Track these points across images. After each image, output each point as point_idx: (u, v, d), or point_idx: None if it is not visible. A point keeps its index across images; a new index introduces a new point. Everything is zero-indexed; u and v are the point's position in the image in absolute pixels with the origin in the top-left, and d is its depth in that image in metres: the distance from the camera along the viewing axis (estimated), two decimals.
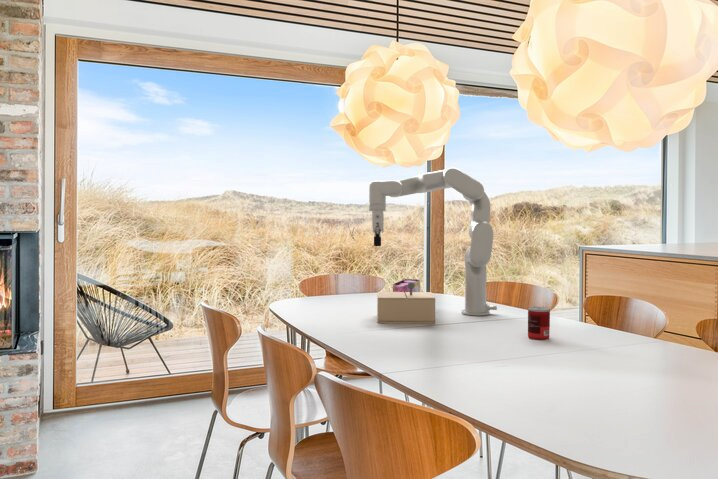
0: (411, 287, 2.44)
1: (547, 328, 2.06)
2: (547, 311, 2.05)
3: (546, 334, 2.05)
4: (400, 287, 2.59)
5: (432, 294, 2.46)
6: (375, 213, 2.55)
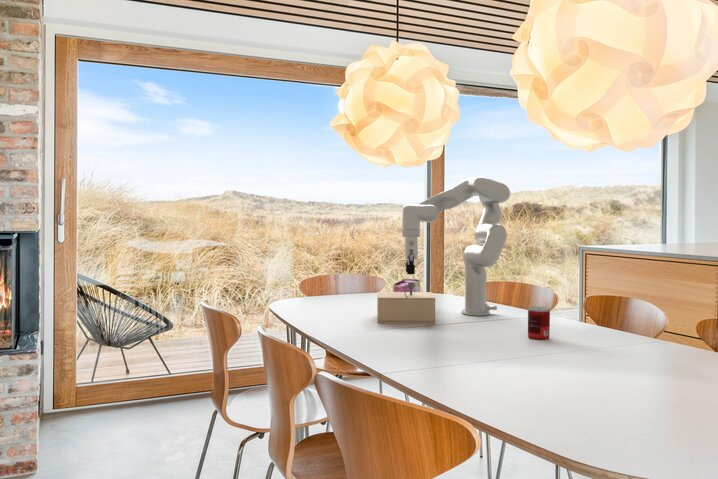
0: (411, 287, 2.44)
1: (547, 328, 2.06)
2: (547, 311, 2.05)
3: (546, 334, 2.05)
4: (401, 287, 2.59)
5: (432, 294, 2.46)
6: (409, 239, 2.40)
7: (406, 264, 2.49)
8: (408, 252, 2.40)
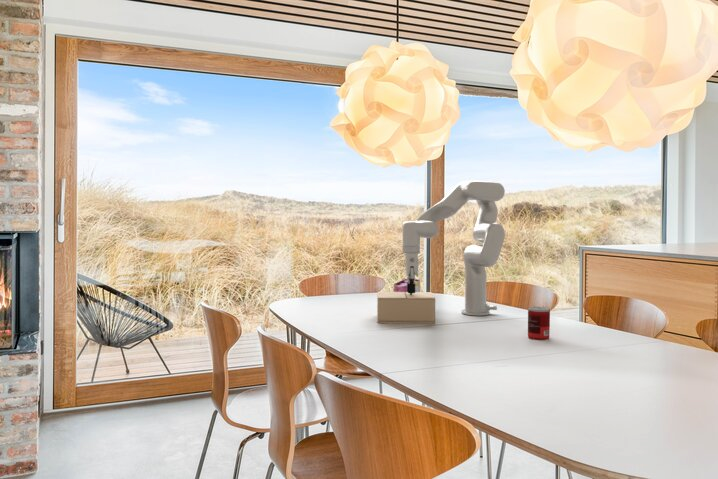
0: None
1: (547, 328, 2.06)
2: (547, 311, 2.05)
3: (546, 334, 2.05)
4: (401, 287, 2.59)
5: (432, 294, 2.46)
6: (409, 256, 2.40)
7: (407, 284, 2.47)
8: (409, 269, 2.40)
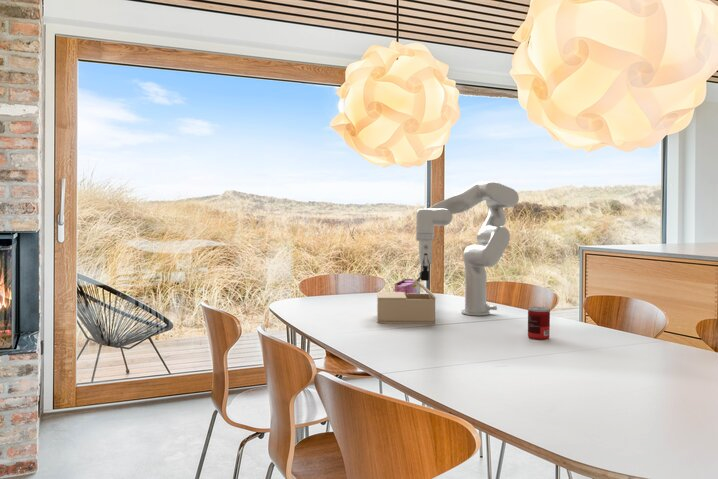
0: None
1: (547, 328, 2.06)
2: (547, 311, 2.05)
3: (546, 334, 2.05)
4: (402, 287, 2.59)
5: None
6: (423, 243, 2.40)
7: (421, 271, 2.46)
8: (422, 256, 2.40)
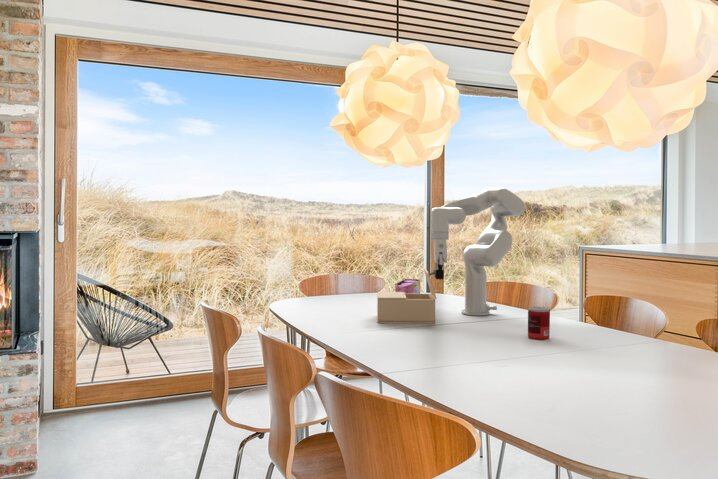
0: (435, 273, 2.43)
1: (547, 328, 2.06)
2: (547, 311, 2.05)
3: (546, 334, 2.05)
4: (403, 287, 2.59)
5: None
6: (438, 242, 2.40)
7: None
8: (437, 255, 2.39)
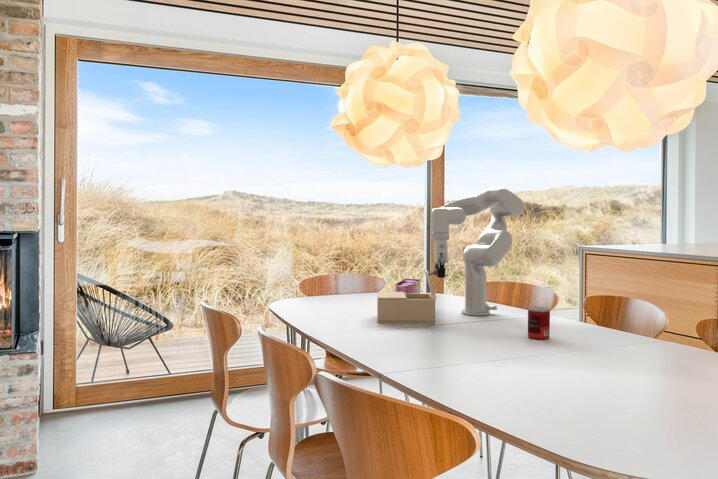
0: (435, 273, 2.43)
1: (547, 328, 2.06)
2: (547, 311, 2.05)
3: (546, 334, 2.05)
4: (403, 287, 2.59)
5: None
6: (439, 242, 2.40)
7: (435, 267, 2.49)
8: (438, 255, 2.39)
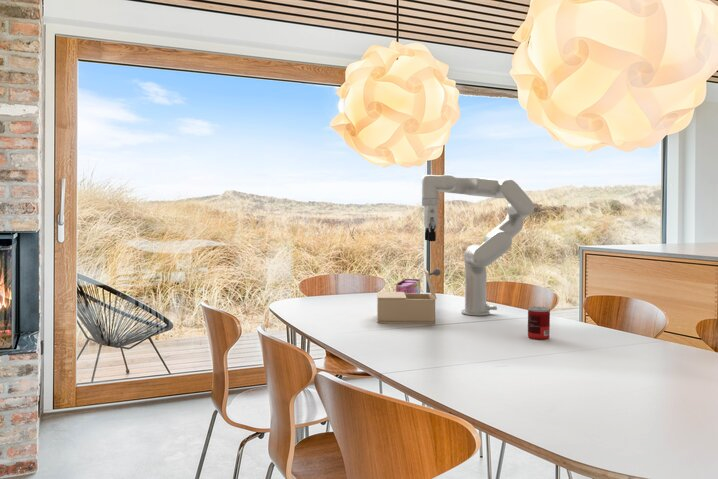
0: (435, 273, 2.43)
1: (547, 328, 2.06)
2: (547, 311, 2.05)
3: (546, 334, 2.05)
4: (403, 287, 2.59)
5: None
6: (429, 208, 2.51)
7: (425, 232, 2.60)
8: (429, 220, 2.51)
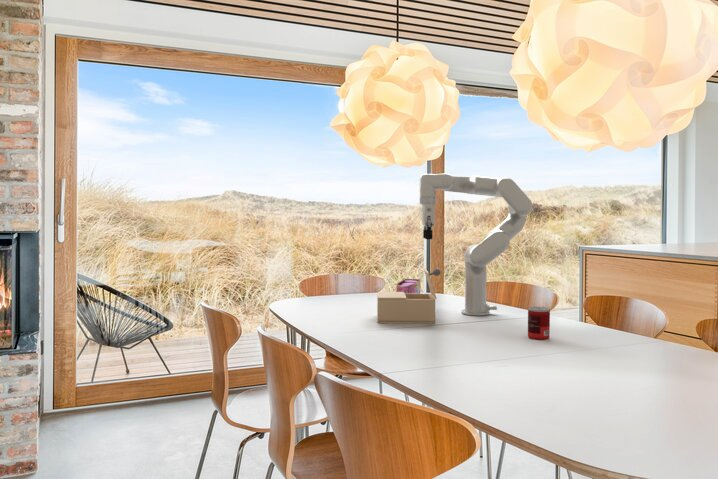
0: (435, 273, 2.43)
1: (547, 328, 2.06)
2: (547, 311, 2.05)
3: (546, 334, 2.05)
4: (404, 287, 2.59)
5: None
6: (426, 206, 2.54)
7: (423, 231, 2.64)
8: (426, 218, 2.54)
